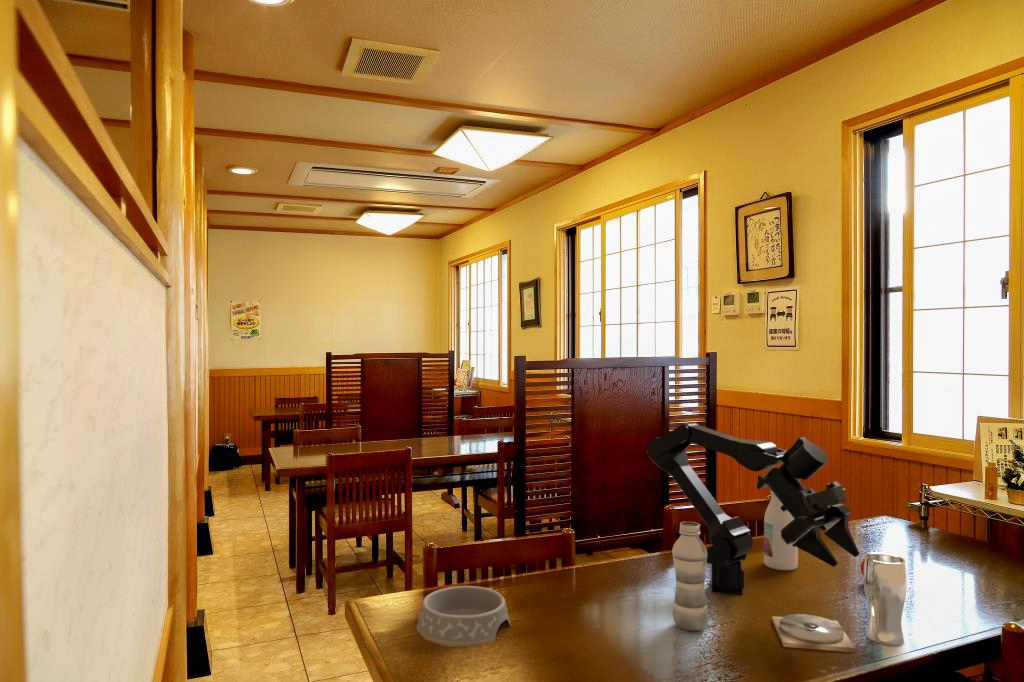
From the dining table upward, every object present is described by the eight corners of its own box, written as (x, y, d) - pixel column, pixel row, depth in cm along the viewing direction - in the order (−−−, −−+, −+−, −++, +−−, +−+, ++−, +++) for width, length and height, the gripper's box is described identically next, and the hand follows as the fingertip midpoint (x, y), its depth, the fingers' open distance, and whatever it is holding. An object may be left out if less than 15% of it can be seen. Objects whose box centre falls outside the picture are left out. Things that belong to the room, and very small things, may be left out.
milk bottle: (800, 564, 169) (800, 483, 169) (794, 573, 163) (794, 489, 163) (767, 559, 173) (767, 480, 173) (760, 567, 167) (760, 485, 167)
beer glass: (912, 648, 122) (912, 565, 122) (870, 645, 124) (870, 562, 124) (898, 632, 129) (898, 553, 129) (859, 629, 131) (858, 551, 131)
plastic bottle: (703, 638, 127) (702, 530, 127) (667, 630, 130) (667, 525, 130) (712, 626, 132) (712, 522, 132) (678, 618, 136) (678, 518, 136)
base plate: (783, 646, 123) (783, 642, 123) (771, 620, 135) (771, 616, 135) (855, 652, 121) (855, 647, 121) (837, 625, 133) (837, 620, 133)
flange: (786, 641, 124) (786, 635, 124) (774, 617, 134) (774, 611, 134) (851, 646, 122) (851, 640, 122) (834, 621, 132) (834, 616, 132)
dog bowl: (523, 617, 138) (523, 590, 138) (482, 655, 121) (482, 624, 121) (448, 604, 145) (448, 578, 145) (400, 638, 128) (400, 609, 128)
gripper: (795, 475, 130) (855, 546, 121) (840, 464, 142) (898, 528, 133) (757, 509, 136) (812, 579, 128) (804, 495, 148) (857, 559, 139)
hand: (847, 560), depth 132 cm, fingers open, 9 cm apart
